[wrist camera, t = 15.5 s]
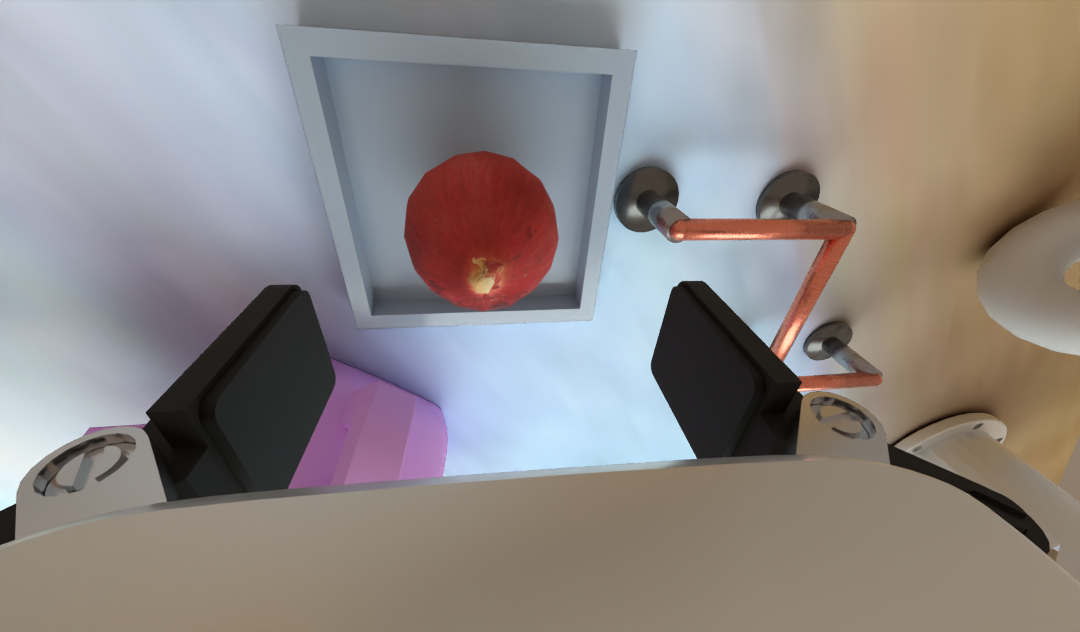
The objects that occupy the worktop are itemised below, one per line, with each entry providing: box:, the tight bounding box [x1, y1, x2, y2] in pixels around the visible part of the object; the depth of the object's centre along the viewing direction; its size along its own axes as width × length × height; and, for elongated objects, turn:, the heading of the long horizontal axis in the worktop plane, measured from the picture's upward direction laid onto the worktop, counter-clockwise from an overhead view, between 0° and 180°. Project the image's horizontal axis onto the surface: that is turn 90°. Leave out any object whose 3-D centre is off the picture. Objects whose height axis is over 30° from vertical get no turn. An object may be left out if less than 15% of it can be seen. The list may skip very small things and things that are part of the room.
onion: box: [404, 151, 559, 311], centre depth 15 cm, size 6×6×8 cm
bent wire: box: [614, 167, 882, 391], centre depth 22 cm, size 13×19×4 cm
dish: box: [276, 24, 637, 329], centre depth 17 cm, size 12×12×2 cm
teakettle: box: [83, 358, 448, 489], centre depth 21 cm, size 17×17×12 cm
